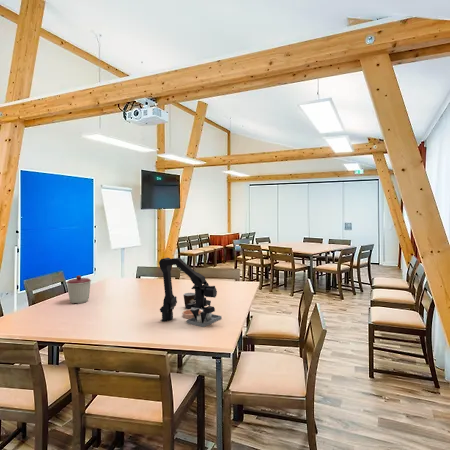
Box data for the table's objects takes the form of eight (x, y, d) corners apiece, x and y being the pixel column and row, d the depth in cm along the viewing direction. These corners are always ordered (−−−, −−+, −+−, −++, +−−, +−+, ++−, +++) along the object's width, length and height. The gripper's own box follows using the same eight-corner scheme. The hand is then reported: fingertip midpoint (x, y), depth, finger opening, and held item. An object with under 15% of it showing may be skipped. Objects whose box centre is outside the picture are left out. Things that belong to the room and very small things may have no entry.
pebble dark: (209, 320, 200) (208, 313, 200) (204, 319, 202) (203, 312, 202) (212, 318, 203) (212, 312, 203) (207, 317, 205) (207, 311, 205)
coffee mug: (184, 310, 226) (183, 295, 226) (183, 306, 235) (183, 293, 235) (200, 308, 229) (200, 294, 228) (199, 305, 237) (198, 292, 237)
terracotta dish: (193, 321, 202) (193, 316, 202) (178, 317, 209) (178, 313, 209) (205, 316, 212) (205, 311, 212) (191, 313, 219) (191, 308, 219)
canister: (66, 301, 258) (65, 274, 258) (90, 298, 267) (90, 272, 266) (67, 306, 242) (66, 278, 242) (92, 303, 250) (92, 276, 250)
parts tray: (203, 328, 188) (203, 324, 188) (186, 324, 196) (186, 320, 196) (221, 320, 203) (221, 316, 203) (205, 316, 210) (205, 312, 210)
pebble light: (200, 324, 193) (200, 317, 193) (195, 323, 196) (195, 316, 195) (204, 322, 196) (204, 315, 196) (199, 321, 199) (199, 314, 199)
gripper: (219, 295, 197) (220, 320, 197) (196, 291, 208) (197, 315, 208) (208, 299, 188) (209, 326, 188) (184, 295, 199) (185, 320, 199)
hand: (200, 321), depth 196 cm, fingers closed on pebble light, 4 cm apart
